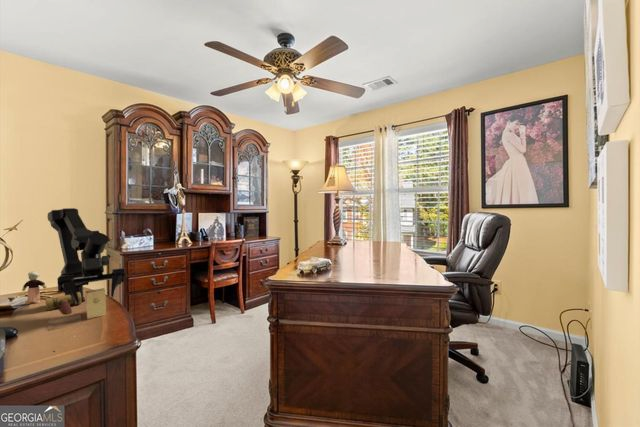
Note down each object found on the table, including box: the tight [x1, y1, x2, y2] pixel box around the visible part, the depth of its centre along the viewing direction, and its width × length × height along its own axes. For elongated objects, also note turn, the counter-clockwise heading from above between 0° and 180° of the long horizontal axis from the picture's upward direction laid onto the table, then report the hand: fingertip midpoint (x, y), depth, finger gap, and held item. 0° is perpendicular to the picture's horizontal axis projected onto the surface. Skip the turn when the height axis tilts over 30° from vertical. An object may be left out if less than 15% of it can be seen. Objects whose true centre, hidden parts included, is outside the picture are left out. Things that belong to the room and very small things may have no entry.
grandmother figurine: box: [21, 271, 47, 305], centre depth 118 cm, size 8×4×13 cm, turn 120°
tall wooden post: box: [85, 287, 107, 320], centre depth 99 cm, size 3×5×10 cm
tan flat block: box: [47, 313, 83, 332], centre depth 94 cm, size 12×8×2 cm
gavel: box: [45, 292, 82, 316], centre depth 107 cm, size 21×5×10 cm
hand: (95, 300), depth 99 cm, fingers open, 9 cm apart
